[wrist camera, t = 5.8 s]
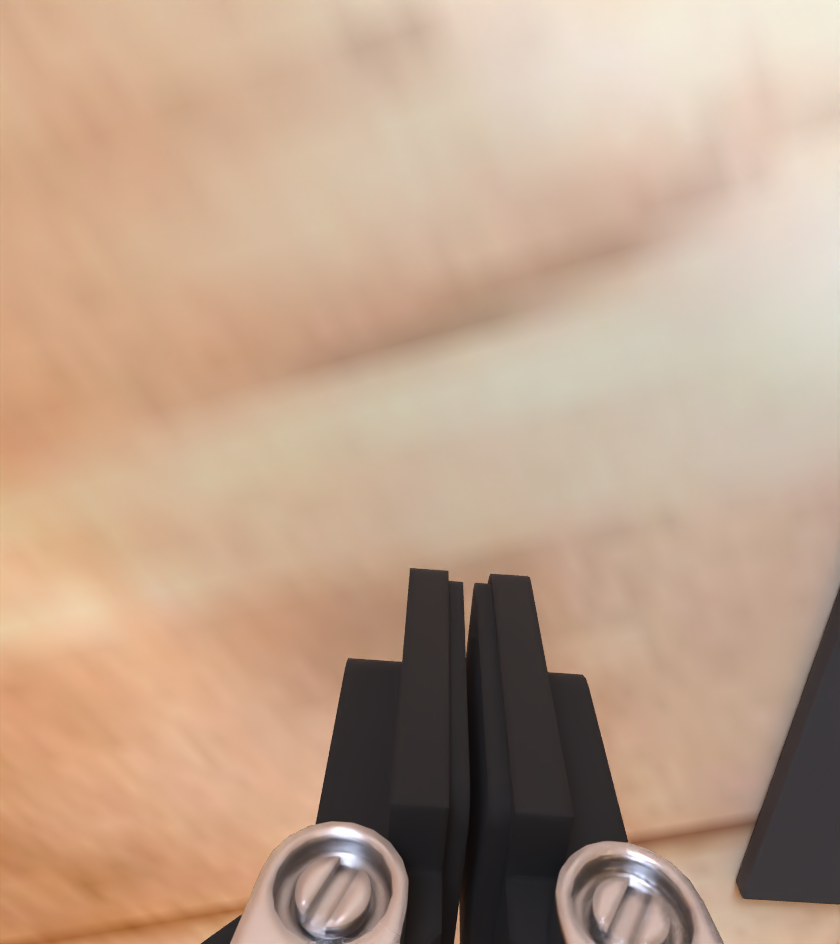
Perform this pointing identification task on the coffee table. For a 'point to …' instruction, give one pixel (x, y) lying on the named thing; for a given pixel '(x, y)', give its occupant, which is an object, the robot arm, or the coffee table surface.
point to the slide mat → (803, 796)
